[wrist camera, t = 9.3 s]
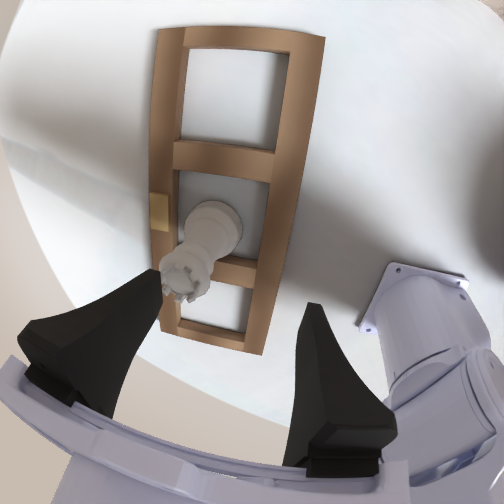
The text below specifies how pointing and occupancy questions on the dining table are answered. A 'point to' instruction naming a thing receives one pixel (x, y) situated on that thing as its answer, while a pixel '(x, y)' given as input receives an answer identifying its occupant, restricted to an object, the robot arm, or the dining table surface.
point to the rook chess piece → (200, 250)
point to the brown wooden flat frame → (231, 168)
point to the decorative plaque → (495, 6)
